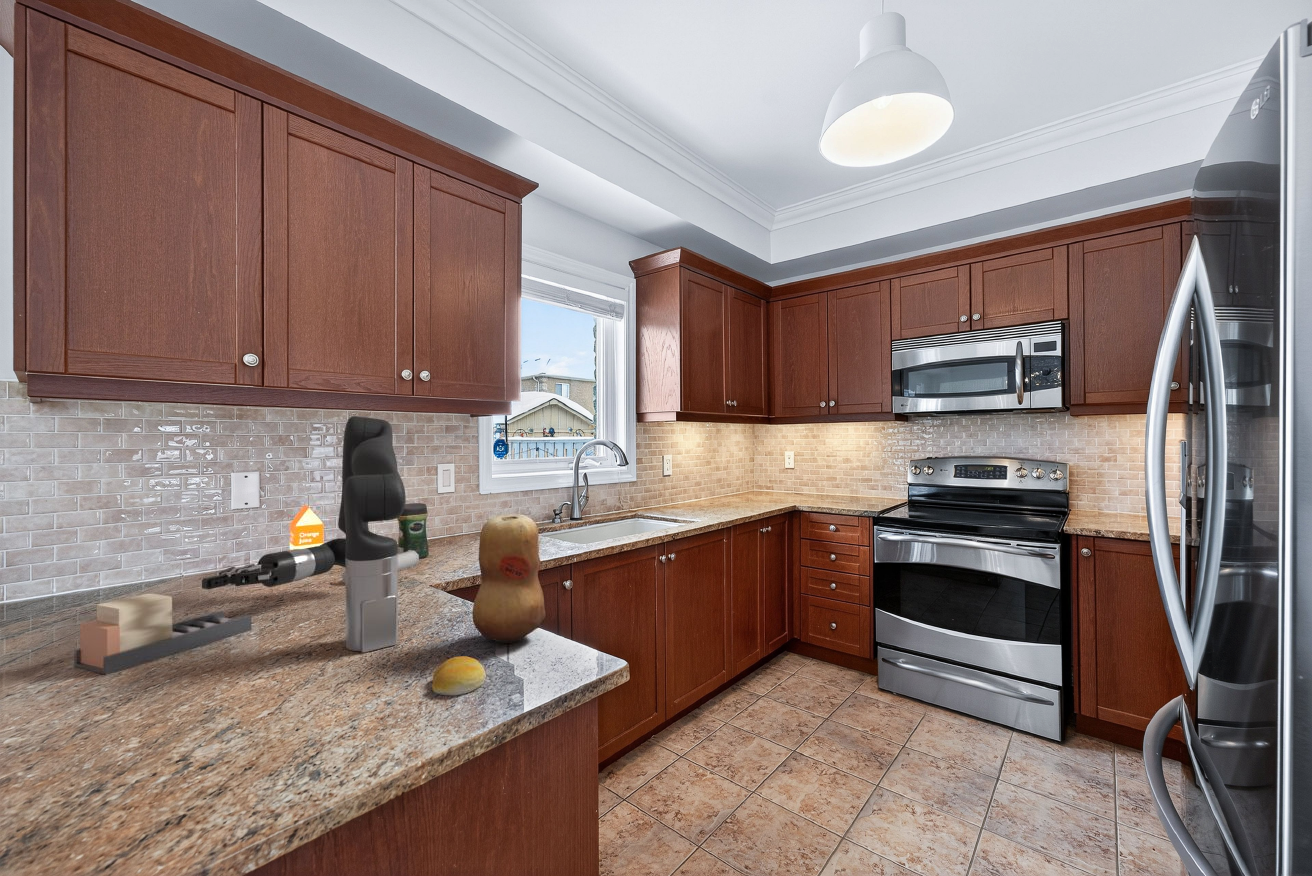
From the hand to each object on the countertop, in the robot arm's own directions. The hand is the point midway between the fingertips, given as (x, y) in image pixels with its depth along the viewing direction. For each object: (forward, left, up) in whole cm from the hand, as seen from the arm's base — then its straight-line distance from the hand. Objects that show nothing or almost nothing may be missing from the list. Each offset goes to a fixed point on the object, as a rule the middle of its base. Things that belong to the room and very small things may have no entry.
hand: (204, 584), depth 114 cm
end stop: (-7, +15, -10) cm, 19 cm away
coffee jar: (+47, -59, -11) cm, 76 cm away
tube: (+30, -43, -11) cm, 54 cm away
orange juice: (+52, -29, -11) cm, 60 cm away
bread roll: (-58, -28, -11) cm, 65 cm away
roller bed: (-2, +5, -11) cm, 12 cm away
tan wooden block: (-4, +10, -8) cm, 14 cm away
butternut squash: (-46, -44, -11) cm, 64 cm away
